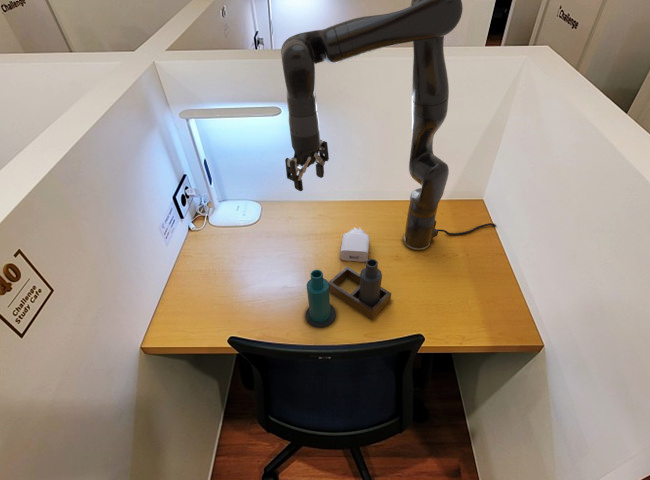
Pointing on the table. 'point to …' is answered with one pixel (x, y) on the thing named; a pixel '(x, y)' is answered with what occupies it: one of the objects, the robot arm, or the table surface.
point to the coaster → (321, 324)
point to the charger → (355, 245)
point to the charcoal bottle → (370, 283)
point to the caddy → (357, 293)
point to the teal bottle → (318, 296)
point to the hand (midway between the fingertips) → (310, 183)
